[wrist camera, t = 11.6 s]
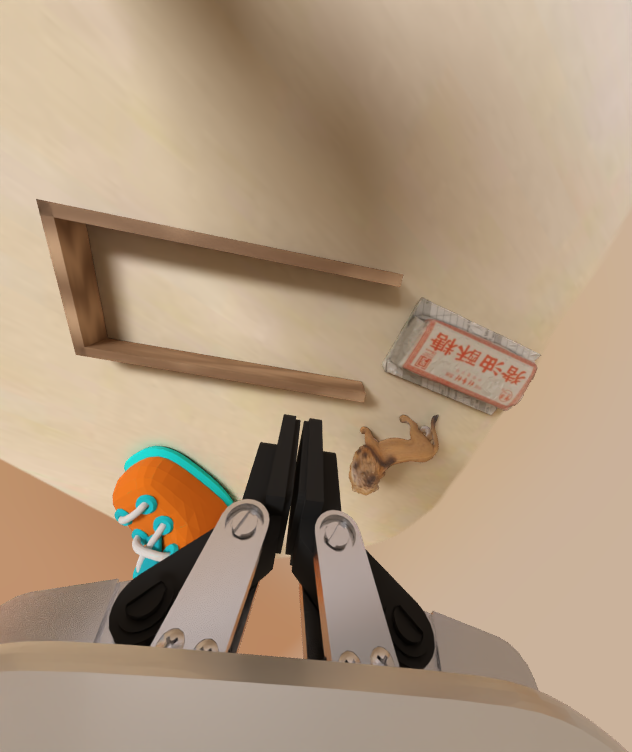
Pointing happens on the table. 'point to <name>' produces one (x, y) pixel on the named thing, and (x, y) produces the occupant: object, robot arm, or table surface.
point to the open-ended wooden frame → (91, 340)
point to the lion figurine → (390, 454)
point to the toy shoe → (166, 503)
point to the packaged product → (461, 359)
